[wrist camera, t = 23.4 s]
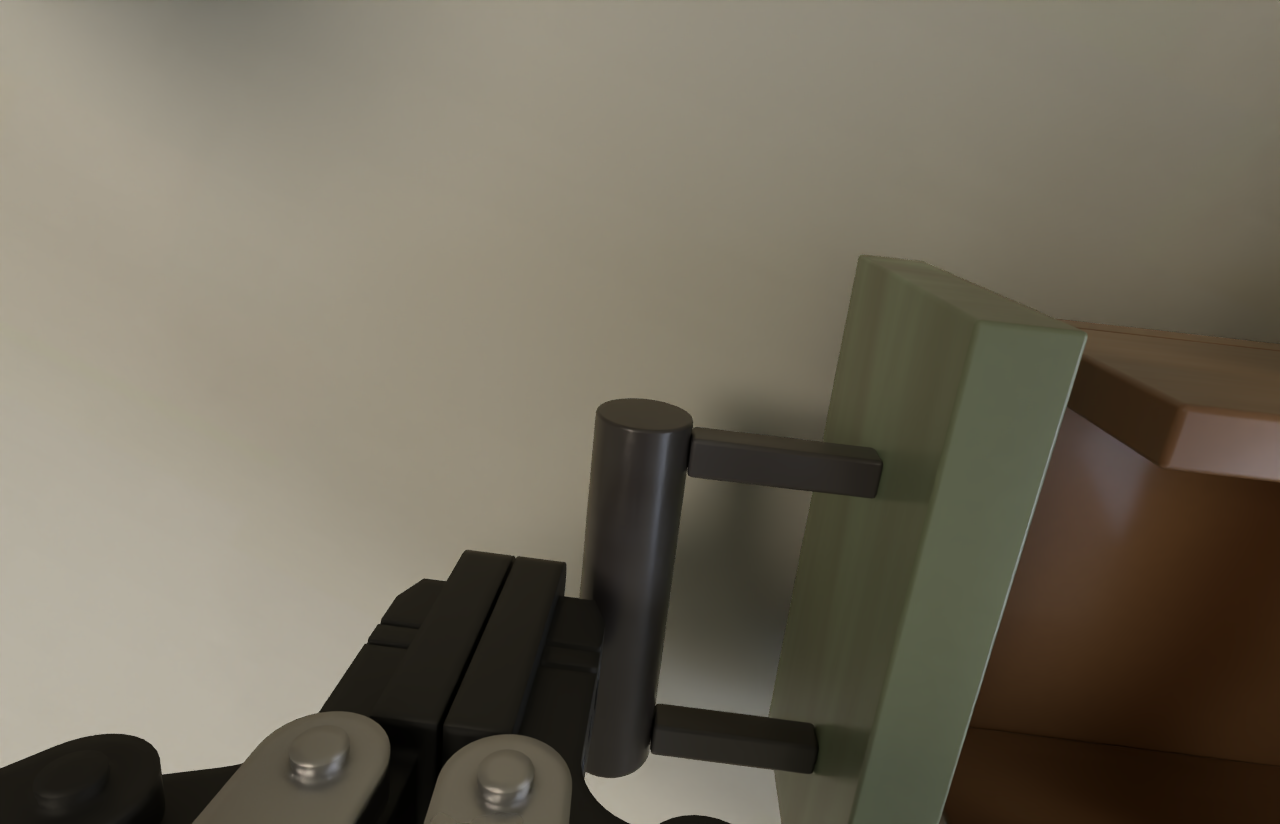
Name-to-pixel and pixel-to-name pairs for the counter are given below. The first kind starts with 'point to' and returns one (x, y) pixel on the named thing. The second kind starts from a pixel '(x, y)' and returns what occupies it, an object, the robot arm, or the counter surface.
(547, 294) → the counter surface
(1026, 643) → the drawer
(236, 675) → the counter surface
